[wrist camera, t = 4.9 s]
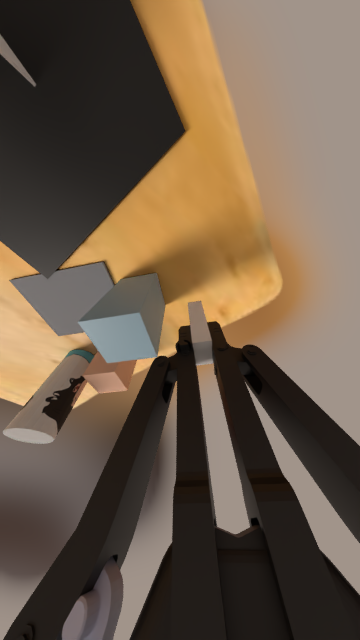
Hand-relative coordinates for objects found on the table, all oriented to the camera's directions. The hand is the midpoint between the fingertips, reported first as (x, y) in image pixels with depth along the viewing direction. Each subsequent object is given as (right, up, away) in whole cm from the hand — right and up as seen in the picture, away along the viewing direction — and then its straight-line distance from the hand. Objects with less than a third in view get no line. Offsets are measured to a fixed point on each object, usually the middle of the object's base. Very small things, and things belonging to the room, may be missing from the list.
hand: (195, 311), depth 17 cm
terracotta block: (-16, -8, +16) cm, 24 cm away
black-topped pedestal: (-20, +21, -5) cm, 30 cm away
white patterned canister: (-25, -10, +18) cm, 33 cm away
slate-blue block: (-8, +4, +8) cm, 12 cm away
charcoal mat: (-20, +2, +9) cm, 22 cm away
